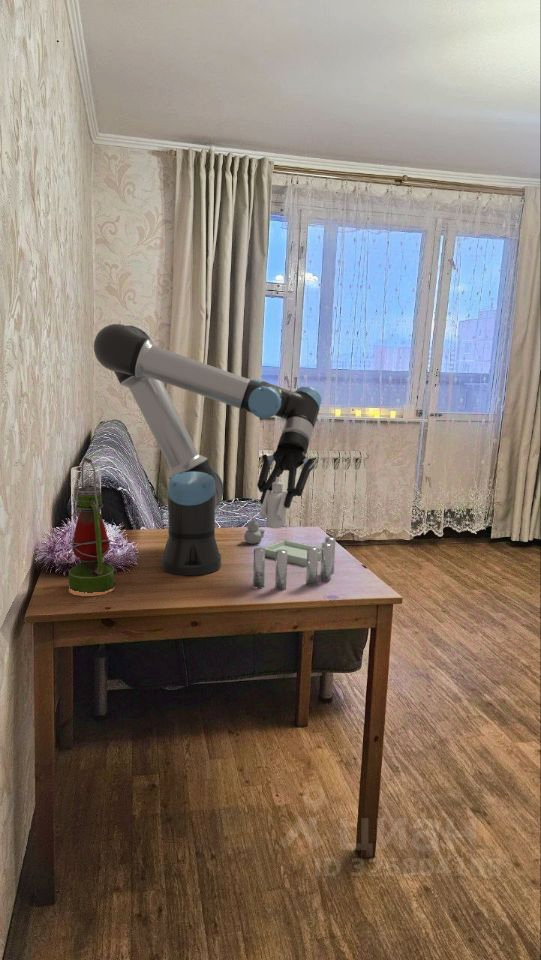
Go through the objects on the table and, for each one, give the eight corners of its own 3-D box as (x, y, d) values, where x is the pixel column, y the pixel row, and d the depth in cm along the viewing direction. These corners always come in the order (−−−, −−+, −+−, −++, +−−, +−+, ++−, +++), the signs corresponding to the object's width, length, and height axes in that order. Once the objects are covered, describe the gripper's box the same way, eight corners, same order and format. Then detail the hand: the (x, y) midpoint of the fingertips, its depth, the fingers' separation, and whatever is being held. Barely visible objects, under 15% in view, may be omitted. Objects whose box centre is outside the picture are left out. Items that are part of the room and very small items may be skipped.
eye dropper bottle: (262, 524, 154) (263, 476, 152) (283, 522, 157) (284, 475, 154) (269, 529, 150) (270, 479, 148) (290, 527, 153) (292, 478, 150)
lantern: (125, 593, 142) (123, 461, 137) (78, 602, 136) (74, 465, 131) (104, 575, 154) (100, 453, 148) (59, 583, 148) (54, 456, 142)
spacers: (250, 585, 149) (251, 548, 148) (329, 570, 161) (331, 536, 160) (267, 595, 143) (268, 557, 141) (348, 579, 155) (349, 543, 154)
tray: (262, 555, 172) (262, 548, 172) (284, 546, 181) (285, 539, 180) (306, 566, 164) (306, 559, 164) (327, 556, 173) (327, 549, 173)
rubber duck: (239, 542, 184) (240, 515, 183) (258, 538, 188) (259, 512, 186) (249, 546, 180) (250, 519, 178) (269, 543, 183) (269, 516, 182)
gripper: (328, 450, 162) (307, 529, 150) (268, 445, 167) (242, 521, 155) (324, 432, 156) (301, 512, 144) (261, 427, 161) (234, 504, 149)
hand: (270, 516), depth 149 cm, fingers closed on eye dropper bottle, 3 cm apart
